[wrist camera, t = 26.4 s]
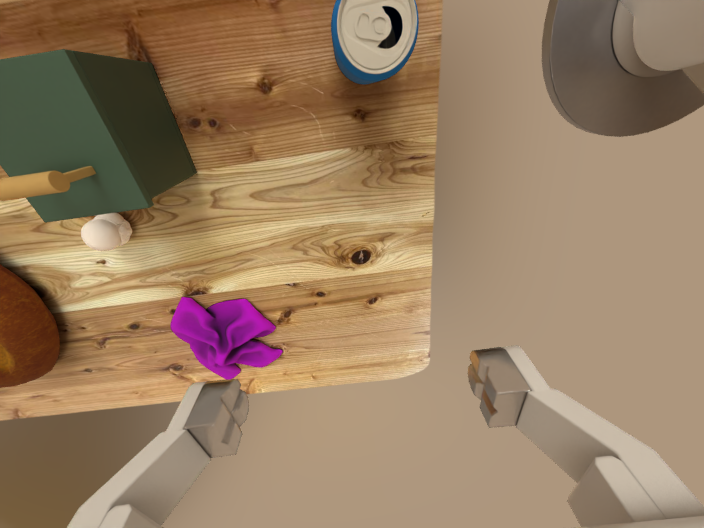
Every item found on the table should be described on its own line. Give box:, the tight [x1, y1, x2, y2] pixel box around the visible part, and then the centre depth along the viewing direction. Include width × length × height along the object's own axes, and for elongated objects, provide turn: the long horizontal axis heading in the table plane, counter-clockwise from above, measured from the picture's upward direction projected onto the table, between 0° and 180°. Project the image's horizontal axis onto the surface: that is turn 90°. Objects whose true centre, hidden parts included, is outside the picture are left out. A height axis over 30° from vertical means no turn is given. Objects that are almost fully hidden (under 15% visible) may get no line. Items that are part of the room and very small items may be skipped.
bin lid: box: [0, 49, 154, 222], centre depth 22 cm, size 12×11×5 cm
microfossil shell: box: [81, 213, 132, 251], centre depth 37 cm, size 4×5×6 cm
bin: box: [73, 51, 197, 199], centre depth 28 cm, size 12×11×10 cm
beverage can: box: [331, 0, 419, 84], centre depth 25 cm, size 6×6×12 cm
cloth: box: [171, 297, 283, 380], centre depth 49 cm, size 22×19×6 cm
